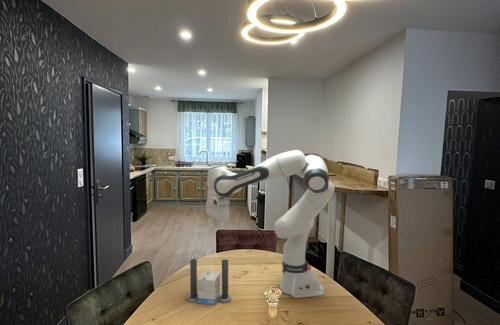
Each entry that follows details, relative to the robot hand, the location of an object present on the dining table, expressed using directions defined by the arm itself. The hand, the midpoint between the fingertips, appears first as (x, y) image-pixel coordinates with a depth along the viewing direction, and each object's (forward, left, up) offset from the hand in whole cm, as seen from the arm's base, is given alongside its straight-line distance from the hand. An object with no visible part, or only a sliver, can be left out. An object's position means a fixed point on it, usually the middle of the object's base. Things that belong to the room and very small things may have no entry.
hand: (216, 226), depth 136 cm
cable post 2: (-5, +8, -33) cm, 35 cm away
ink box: (+3, +8, -34) cm, 35 cm away
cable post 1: (+10, +8, -33) cm, 36 cm away
